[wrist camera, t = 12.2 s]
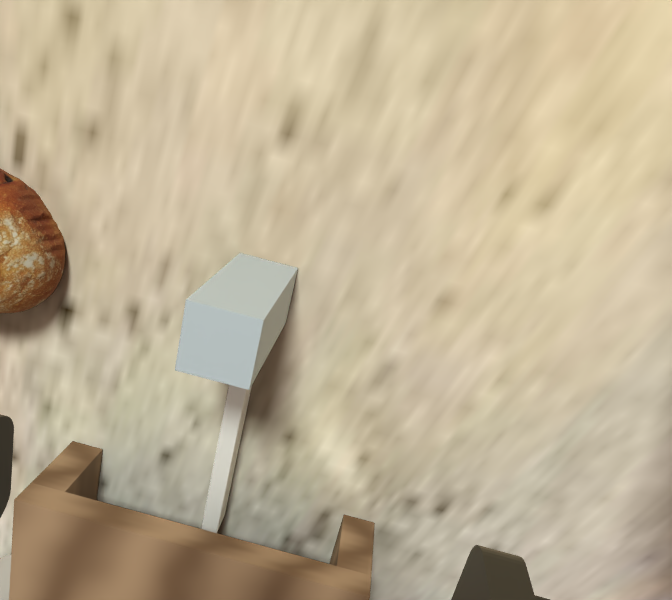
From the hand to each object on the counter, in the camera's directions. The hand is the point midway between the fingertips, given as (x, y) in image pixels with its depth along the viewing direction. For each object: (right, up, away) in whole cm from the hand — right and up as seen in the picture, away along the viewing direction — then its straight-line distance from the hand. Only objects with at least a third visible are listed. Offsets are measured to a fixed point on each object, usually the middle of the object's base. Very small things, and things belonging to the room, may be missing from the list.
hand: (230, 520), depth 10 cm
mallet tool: (-5, -3, +31) cm, 32 cm away
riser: (-8, -15, +36) cm, 39 cm away
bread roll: (-22, +8, +30) cm, 38 cm away
